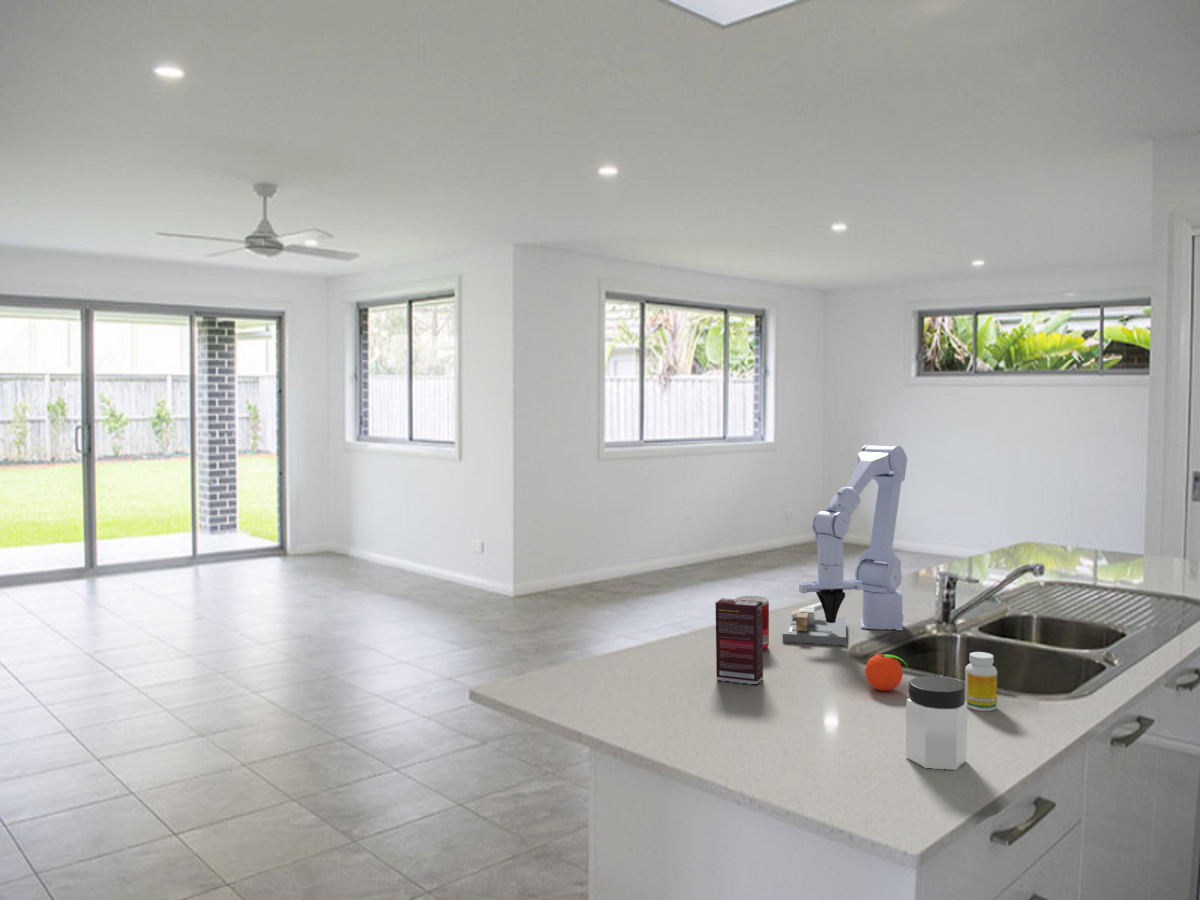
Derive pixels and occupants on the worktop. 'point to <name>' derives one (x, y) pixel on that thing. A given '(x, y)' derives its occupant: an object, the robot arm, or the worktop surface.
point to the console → (817, 631)
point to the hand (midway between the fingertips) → (830, 622)
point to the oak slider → (801, 621)
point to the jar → (936, 722)
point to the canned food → (764, 616)
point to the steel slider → (810, 615)
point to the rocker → (817, 607)
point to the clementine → (884, 672)
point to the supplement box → (739, 641)
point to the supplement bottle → (981, 682)
